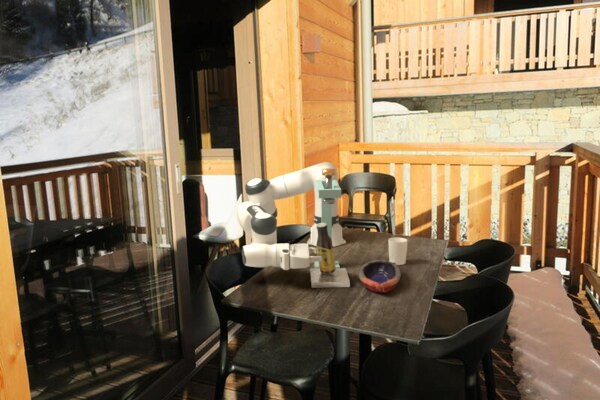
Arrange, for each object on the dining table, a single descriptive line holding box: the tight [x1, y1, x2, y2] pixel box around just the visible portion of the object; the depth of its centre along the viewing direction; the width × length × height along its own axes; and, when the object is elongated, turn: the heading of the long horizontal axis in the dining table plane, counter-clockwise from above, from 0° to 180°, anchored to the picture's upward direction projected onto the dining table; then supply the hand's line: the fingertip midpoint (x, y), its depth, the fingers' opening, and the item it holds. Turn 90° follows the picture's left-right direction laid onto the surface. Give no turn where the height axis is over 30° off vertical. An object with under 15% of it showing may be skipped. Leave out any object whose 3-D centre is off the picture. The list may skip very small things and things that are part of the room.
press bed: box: [309, 267, 351, 289], centre depth 191 cm, size 16×14×2 cm
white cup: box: [388, 236, 408, 266], centre depth 210 cm, size 8×8×10 cm
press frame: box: [313, 180, 342, 269], centre depth 194 cm, size 27×10×36 cm, turn 0°
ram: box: [322, 168, 337, 204], centre depth 184 cm, size 5×5×12 cm
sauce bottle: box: [315, 223, 336, 275], centre depth 189 cm, size 7×6×20 cm
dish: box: [358, 259, 402, 294], centre depth 187 cm, size 16×31×5 cm, turn 168°
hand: (321, 254), depth 189 cm, fingers open, 8 cm apart
